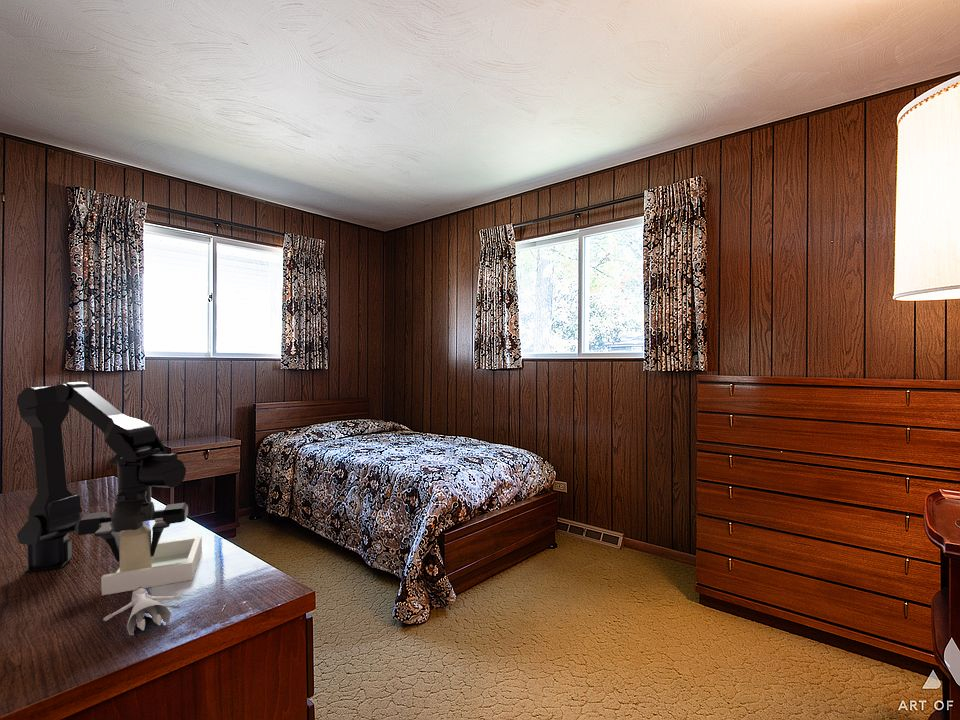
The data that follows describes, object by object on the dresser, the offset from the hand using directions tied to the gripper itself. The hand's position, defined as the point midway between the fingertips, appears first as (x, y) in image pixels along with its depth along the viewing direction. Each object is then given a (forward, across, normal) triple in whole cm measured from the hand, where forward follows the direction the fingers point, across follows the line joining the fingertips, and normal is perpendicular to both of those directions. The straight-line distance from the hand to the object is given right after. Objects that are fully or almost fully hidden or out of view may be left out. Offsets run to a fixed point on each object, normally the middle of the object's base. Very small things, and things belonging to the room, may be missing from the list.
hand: (136, 558), depth 103 cm
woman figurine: (+4, +5, -21) cm, 22 cm away
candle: (+3, 0, 0) cm, 3 cm away
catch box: (+3, +3, 0) cm, 5 cm away
